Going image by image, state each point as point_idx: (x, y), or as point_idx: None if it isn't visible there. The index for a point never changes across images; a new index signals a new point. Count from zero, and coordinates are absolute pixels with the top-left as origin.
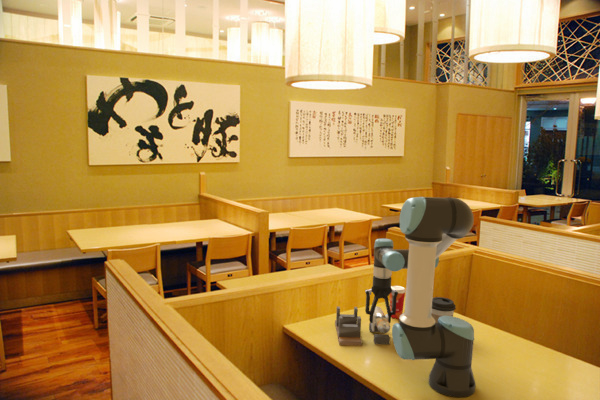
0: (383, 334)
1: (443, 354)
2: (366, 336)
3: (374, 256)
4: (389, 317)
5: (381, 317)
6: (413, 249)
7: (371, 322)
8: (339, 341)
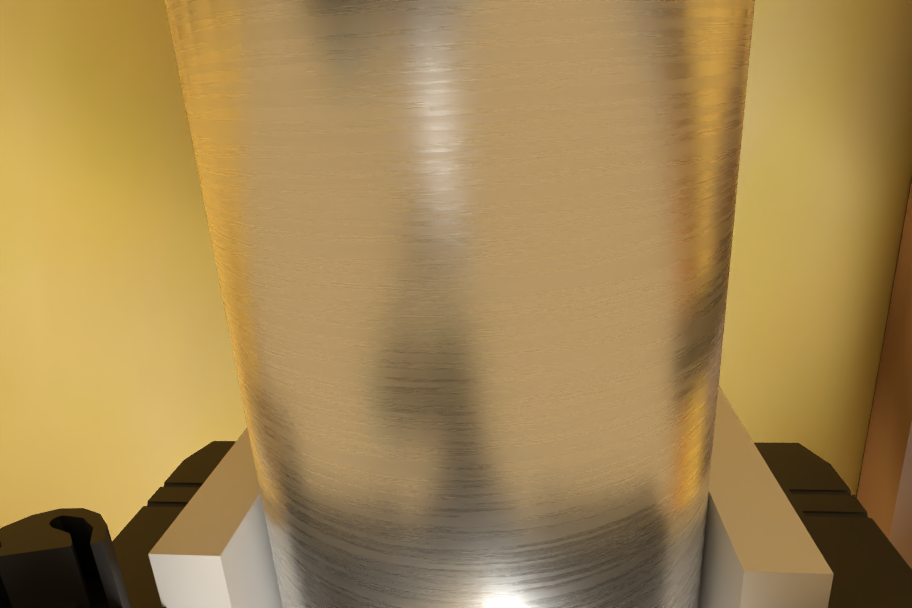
0: None
1: None
2: (734, 332)
3: None
4: (148, 561)
5: (495, 223)
6: None
7: (763, 448)
8: None
